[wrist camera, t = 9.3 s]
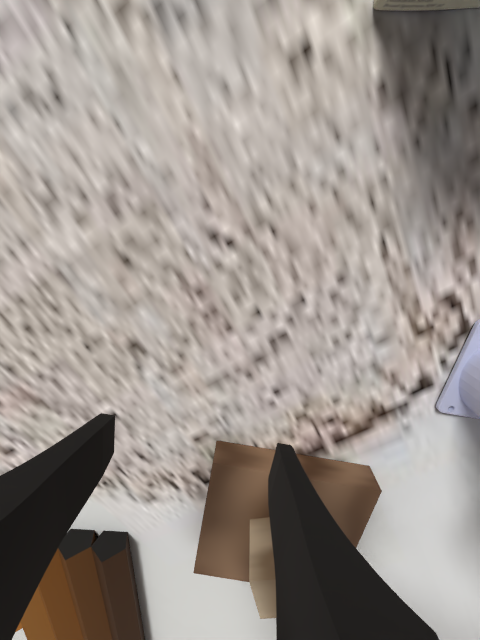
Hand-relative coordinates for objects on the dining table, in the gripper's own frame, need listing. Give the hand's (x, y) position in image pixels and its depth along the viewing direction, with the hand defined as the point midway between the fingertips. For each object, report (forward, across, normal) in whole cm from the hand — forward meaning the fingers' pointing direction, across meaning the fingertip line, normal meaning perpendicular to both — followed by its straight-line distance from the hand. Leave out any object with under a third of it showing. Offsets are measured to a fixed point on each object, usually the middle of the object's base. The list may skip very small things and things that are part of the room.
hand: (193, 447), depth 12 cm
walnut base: (+10, -8, +16) cm, 21 cm away
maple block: (+8, -8, +16) cm, 19 cm away
